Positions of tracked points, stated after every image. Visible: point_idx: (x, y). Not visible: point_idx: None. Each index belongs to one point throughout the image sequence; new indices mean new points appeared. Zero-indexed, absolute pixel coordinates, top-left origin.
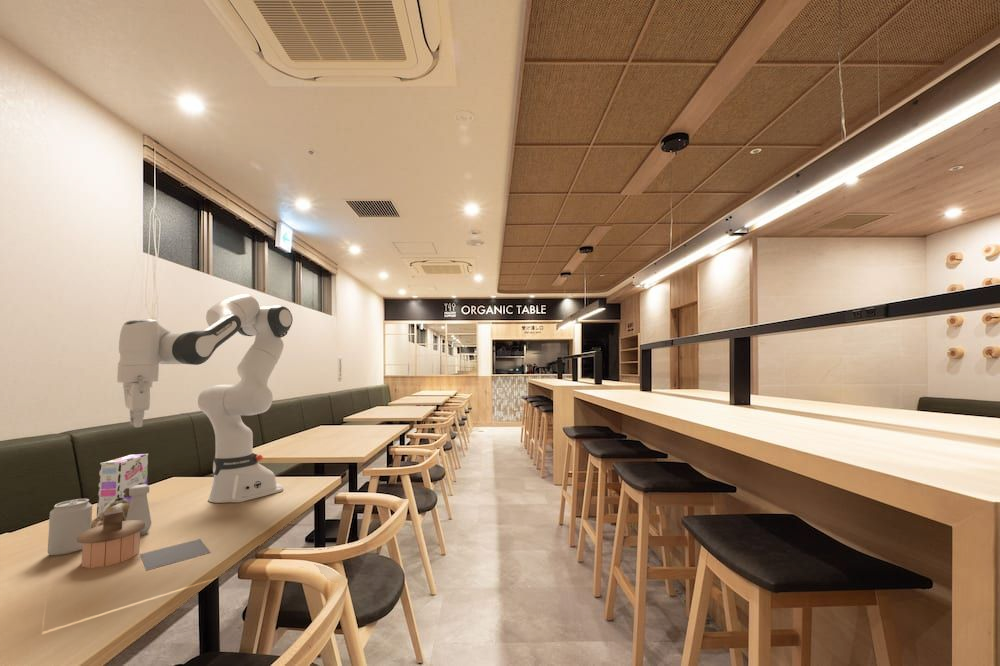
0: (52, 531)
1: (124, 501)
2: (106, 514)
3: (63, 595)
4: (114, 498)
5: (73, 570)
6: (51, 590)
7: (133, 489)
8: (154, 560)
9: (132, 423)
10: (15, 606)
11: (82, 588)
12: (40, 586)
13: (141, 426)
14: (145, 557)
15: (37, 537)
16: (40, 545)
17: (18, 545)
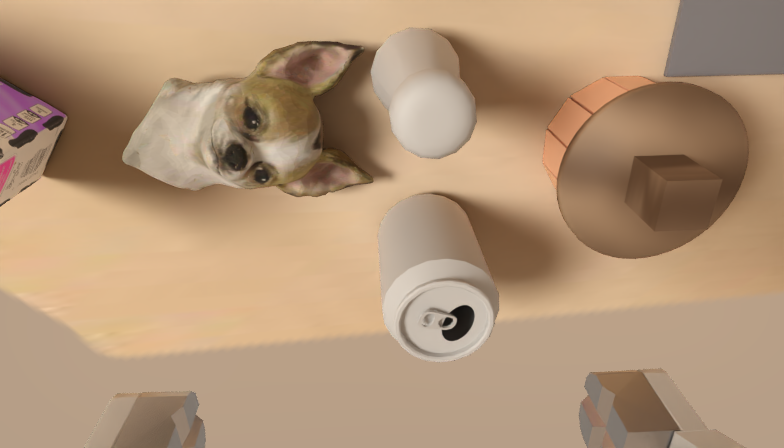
0: (459, 307)
1: (241, 134)
2: (700, 224)
3: (767, 226)
4: (21, 153)
5: None
6: (707, 246)
7: (462, 145)
8: (771, 45)
9: (200, 439)
10: (731, 289)
11: (767, 197)
12: (656, 264)
13: (655, 370)
14: (717, 65)
15: (194, 302)
16: (294, 290)
17: (248, 330)
